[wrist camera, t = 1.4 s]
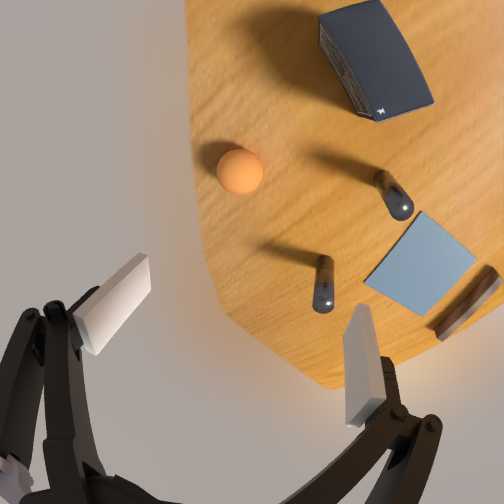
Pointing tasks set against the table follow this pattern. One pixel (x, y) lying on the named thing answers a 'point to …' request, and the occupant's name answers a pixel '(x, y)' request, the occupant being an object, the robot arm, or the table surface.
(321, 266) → the post
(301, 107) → the table surface
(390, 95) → the small box
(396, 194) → the post
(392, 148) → the table surface
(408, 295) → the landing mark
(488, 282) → the stopper wall
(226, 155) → the ball
